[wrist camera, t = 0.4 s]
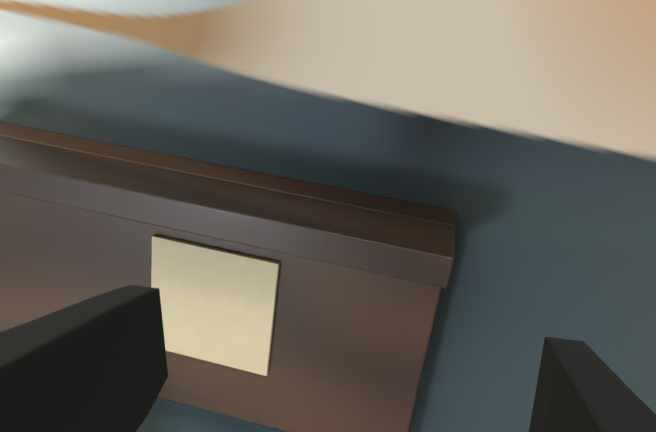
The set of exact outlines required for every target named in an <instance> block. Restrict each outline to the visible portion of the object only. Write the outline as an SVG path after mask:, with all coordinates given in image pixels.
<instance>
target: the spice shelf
mask: <svg viewBox="0 0 656 432" xmlns="http://www.w3.org/2000/svg"><path fill="white" fill-rule="evenodd" d="M455 224H456V212H455V211H452V210H447V209H442V208H437V207H432V206H427V205H422V204H417V203H412V202H406V201H401V200H396V199H391V198H386V197H381V196H376V195H371V194H365V193H360V192H355V191H350V190H345V189H340V188H335V187H330V186H325V185H319V184H314V183H309V182H304V181H299V180H294V179H289V178H284V177H278V176H273V175H268V174H263V173H258V172H253V171H248V170H243V169H237V168H232V167H227V166H222V165H217V164H212V163H207V162H202V161H197V160H191V159H186V158H181V157H176V156H171V155H166V154H161V153H156V152H150V151H145V150H140V149H135V148H130V147H125V146H120V145H115V144H110V143H104V142H99V141H94V140H89V139H84V138H79V137H74V136H69V135H63V134H58V133H53V132H48V131H43V130H38V129H33V128H28V127H23V126H17V125H12V124H7V123H2V122H0V332H2V331H5V330H7V329H10V328H13V327H16V326H19V325H21V324H24V323H27V322H29V321H32V320H35V319H37V318H40V317H42V316H45V315H48V314H50V313H53V312H55V311H58V310H60V309H63V308H66V307H68V306H71V305H73V304H76V303H79V302H81V301H84V300H86V299H89V298H92V297H94V296H97V295H100V294H103V293H105V292H108V291H111V290H114V289H118V288H121V287H125V286H129V285H136V286H144V287H152V288H159V291H160V300H161V310H162V320H163V330H164V340H165V350H166V360H167V370H168V377H167V379H166V381H165V383H164V385H163V387H162V389H161V391H160V393H159V394H158V396H157V397H159V398H163V399H167V400H171V401H174V402H178V403H182V404H185V405H189V406H193V407H197V408H200V409H204V410H208V411H211V412H215V413H219V414H223V415H226V416H230V417H234V418H237V419H241V420H245V421H248V422H252V423H256V424H260V425H263V426H267V427H271V428H274V429H278V430H282V431H286V432H408V431H409V427H410V423H411V418H412V414H413V410H414V405H415V401H416V397H417V392H418V388H419V383H420V379H421V375H422V370H423V366H424V362H425V357H426V353H427V349H428V344H429V340H430V336H431V331H432V327H433V323H434V318H435V314H436V310H437V305H438V301H439V297H440V292H441V288H447V287H448V283H449V279H450V275H451V271H452V266H453V262H454V251H455Z"/></svg>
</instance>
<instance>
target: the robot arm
mask: <svg viewBox="0 0 656 432" xmlns="http://www.w3.org/2000/svg"><path fill="white" fill-rule="evenodd" d="M167 377H168V370H167V360H166V350H165V340H164V330H163V320H162V310H161V300H160V291H159V288H152V287H144V286H136V285H129V286H125V287H121V288H118V289H114V290H111V291H108V292H105V293H103V294H100V295H97V296H94V297H92V298H89V299H86V300H84V301H81V302H79V303H76V304H73V305H71V306H68V307H66V308H63V309H60V310H58V311H55V312H53V313H50V314H48V315H45V316H42V317H40V318H37V319H35V320H32V321H29V322H27V323H24V324H21V325H19V326H16V327H13V328H10V329H7V330H5V331H2V332H0V432H136V430H137V429H138V428H139V426H140V425H141V423H142V422H143V421H144V419H145V417H146V416H147V414H148V412H149V410H150V409H151V407H152V405H153V404H154V402H155V400H156V398H157V396H158V394H159V393H160V391H161V389H162V387H163V385H164V383H165V381H166V379H167ZM529 432H656V414H655V413H654V412H653V411H652V410H650V409H649V408H648V407H647V406H646V405H645V404H644V403H643V402H642V401H641V400H640V399H639V398H638V397H637V396H636V395H635V394H634V393H633V392H632V391H631V390H630V389H629V388H628V387H627V386H626V385H625V384H624V382H623V381H622V380H621V379H620V378H619V377H618V376H617V375H616V374H615V373H614V372H613V371H612V370H611V369H610V368H609V367H608V366H607V365H606V364H605V363H604V362H603V361H602V360H601V359H600V358H599V357H598V356H597V355H596V354H595V352H594V351H593V350H592V349H591V348H590V347H589V346H587V345H586V344H585V343H584V342H583V341H575V340H567V339H559V338H551V337H545V341H544V347H543V352H542V358H541V364H540V370H539V376H538V382H537V388H536V394H535V399H534V405H533V411H532V417H531V423H530V429H529Z"/></svg>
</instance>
